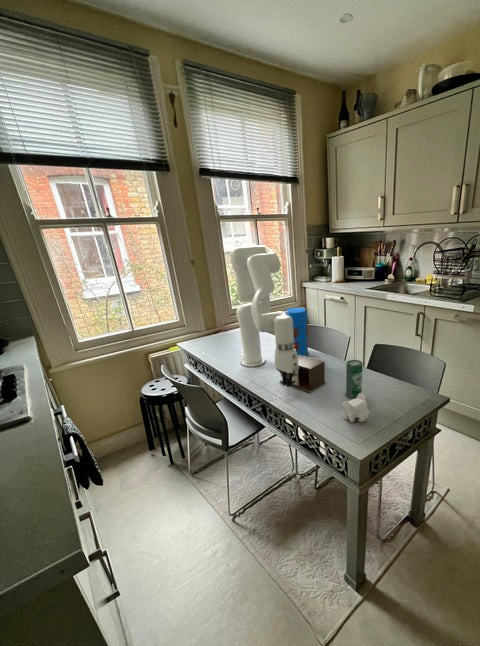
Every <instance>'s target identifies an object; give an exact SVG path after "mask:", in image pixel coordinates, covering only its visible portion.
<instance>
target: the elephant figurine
mask: <svg viewBox="0 0 480 646" xmlns="http://www.w3.org/2000/svg"><path fill="white" fill-rule="evenodd" d="M365 395H366V394H364V393H362V392H361V393H359V394H358V396H357V398H356V399H354V398H353V399H351V400H349V401H347V400H346V401H343V402H342V403H341V405H340V408H341V411H342V415H343V416H342V417H343V418H344V419H345V420H349V422H350V423H354V422H356V419H357V420H358V422H360V423H363V422H366V420H367V419H369V415H371V417H372V418H373V417H374V416H373V414H372V412H371V411H370V410H369V409H368V402H367V398H366V396H365Z"/></svg>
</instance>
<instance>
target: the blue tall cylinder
mask: <svg viewBox="0 0 480 646" xmlns="http://www.w3.org/2000/svg"><path fill="white" fill-rule="evenodd" d="M307 312H308V311H307V309H306V308H305V307H294V308H293V307H292V308H289V309H287V310H286V314H287V315H288V316H290V317H291V318H292V320H293V336H294V345H295V349H296V352H297V354H299V355H303V356H307V355H308V353H309V339H308V337H309V336H308V313H307Z"/></svg>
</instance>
